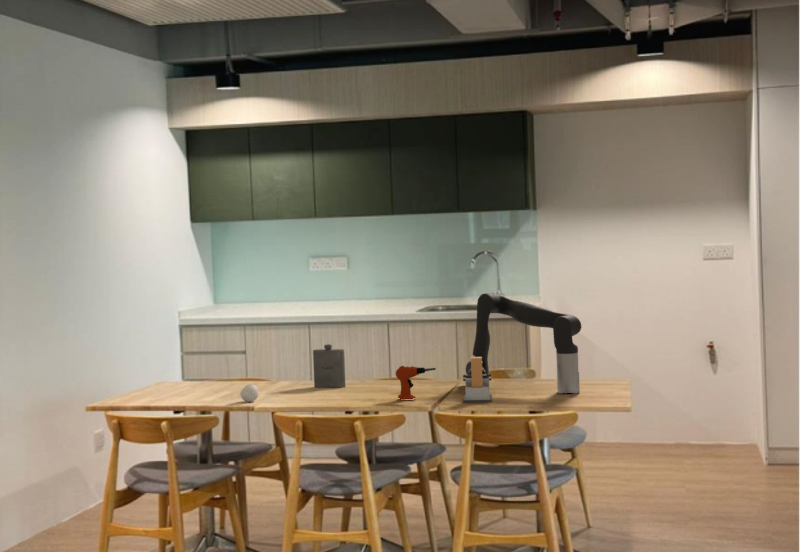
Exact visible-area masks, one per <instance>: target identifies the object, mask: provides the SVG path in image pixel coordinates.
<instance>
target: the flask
mask: <svg viewBox="0 0 800 552" xmlns="http://www.w3.org/2000/svg"><path fill="white" fill-rule="evenodd" d="M332 348H333V345H332V344H330V343H329V344H328V343H327V344H324V348H320V349H314V350H312V355H313V358H312V361H313V382H314V383H313V385H314V388H318V389H338V388H339V389H341V388H342V387H343V388H345V387H346V364H345V363H346V362H345V359H346V358H345V349H343V348H333V349H332Z"/></svg>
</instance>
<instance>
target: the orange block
mask: <svg viewBox="0 0 800 552" xmlns="http://www.w3.org/2000/svg"><path fill="white" fill-rule="evenodd" d="M470 361H471V376H472V387H483V381H482V363H483V362H482V357H475V356H471V357H470Z"/></svg>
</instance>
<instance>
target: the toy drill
mask: <svg viewBox="0 0 800 552" xmlns="http://www.w3.org/2000/svg"><path fill="white" fill-rule="evenodd" d="M436 370H437V368H436V367H430V368H428V367H427V368H425V367H423V366H422V367H418V366H413V365H412V366H404V365H401V366H399V367H398V368H397V369H396V371H395V376H396V378H397V379H398V380H399V382H400V394H398V396H397V399H398V398H400V399H413V398H416V397H417V396H415V395H413V394H412V393H411V389H412V388H413V387H414V383H413V382H412V380H411V379H412V378H414V377H416V376H419V375H421V374H425V372H429V371H436Z"/></svg>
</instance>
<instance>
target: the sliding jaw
mask: <svg viewBox="0 0 800 552" xmlns="http://www.w3.org/2000/svg"><path fill="white" fill-rule="evenodd" d="M482 381H483V387H489V388H490V380H489V378H482ZM464 382H465V387H472V378H465V381H464Z"/></svg>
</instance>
